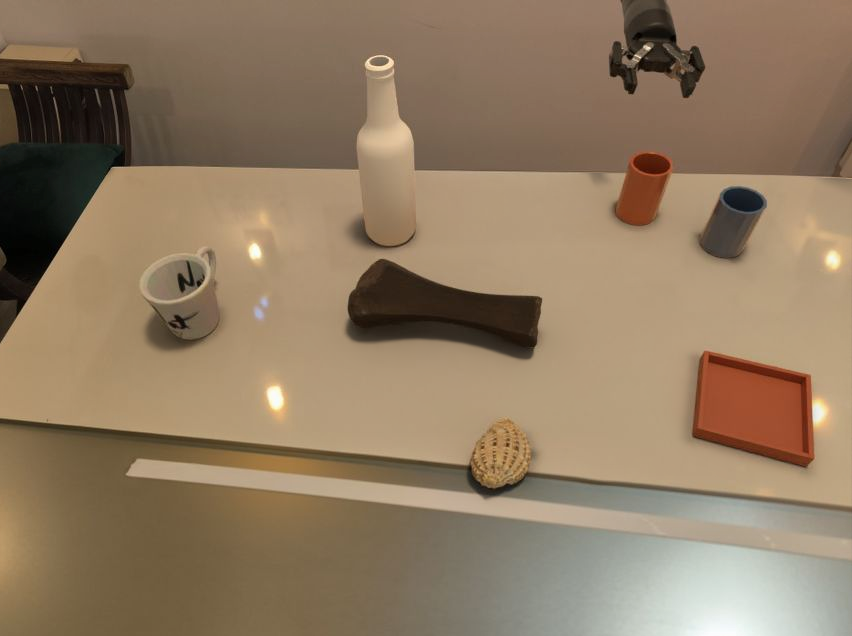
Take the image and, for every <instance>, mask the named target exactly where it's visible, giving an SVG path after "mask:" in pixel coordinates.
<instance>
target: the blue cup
mask: <svg viewBox="0 0 852 636" xmlns="http://www.w3.org/2000/svg"><path fill="white" fill-rule="evenodd" d="M767 206H768V201H767V199H766V198H765V195H763V194H762V193H760V192H759V191H758V190H756V189H753V188H750V187H747V186H741V185H735V186H729V187H726V188H724V189H722V191H720V192H719V194H718V196H717V199H716V201H715V204H714V205H713V208H712V210H711V212H710V215H709V216H708V219H707V221H706V223H705V225H704V227H703V229H702V231H701V234H700V237H699V245H700V247H701V248H702V249H703V250H704V251H705V252H707V253H708V254H710V255H711V256H714V257H717V258H720V259H721V258H723V259H732V258H736V257H738V256H740V255H741V254H742V253H743V251H744V249H745V248H746V246H747V244H748V242H749V240H750V239H751V236H752V235H753V233H754V231H755V229H756V227H757V225H758V223H759V222H760V220H761V218H762V217H763V215H764V212H765V211H766V209H767Z"/></svg>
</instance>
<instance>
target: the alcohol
mask: <svg viewBox="0 0 852 636" xmlns="http://www.w3.org/2000/svg"><path fill="white" fill-rule="evenodd" d="M394 66H395V61H394V59H392V57H389V56H387V55H382V54H381V55H380V54H379V55H374V56H371V57H369V58H368V59H367V60H366V61H365V62H364V68H365V72H364V74H365V77H366V120H365V122H364V124H363V125H362V126H361V128H360V129H359V131H358V133H357V138H356V145H355V147H356V156H357V157H356V158H357V166H358V174H359V183H360V193H361V200H362V201H361V202H362V210H363V219H364V220H363V221H364V227H365V233H366V235H367V236H368V238H370V239H371V240H372V241H373V242H374V243H376V244H377V245H379V246H384V247H395V246H400V245H402V244H404V243H406V242H407V241H408V240H410V239H411V238H412V236H413V235H414V234H415V232H416V229H417V213H416V210H417V209H416V207H417V206H416V174H415V171H416V170H415V142H414V138H413V134H412V131H411V129H410V128H409V126H408V125H407V124H406V122H404V121H403V120H402V119H401V117H400V114H399V107H398V100H397V90H396V84H395V77H394V75H395V68H394Z"/></svg>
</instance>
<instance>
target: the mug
mask: <svg viewBox="0 0 852 636" xmlns="http://www.w3.org/2000/svg"><path fill="white" fill-rule="evenodd" d="M206 254H207V257H208V261H207V260H206V259H205V258H203V257H204V256H205V255H206ZM216 271H217V256H216V252H215V250H213V248H211V246H209V245H204V246H201V247H200V248H199V249H197V251H196V252H195V253H188V252H180V253H179V252H178V253H173V254H170V255H166V256H163V257H161V258H159V259H157V260H156V261H154V262H153V263H150V265H149V266H148V267H147V268H146V269H145V270H144V271H143V273H142V275H141V277H140V279H139V284H138V285H139V286H138V288H139V292H140V294H141V297H143V299H144V300H145V301H146V303H148V305H149V307H151V308H152V309H153V311H154V312H155V313H156V314H157V315H158V317H159V318H160V319H161V320H162V322H163V323H165V325H166V327H168V328H169V330H170V331H171V333H173V334H174V335H175V337H177V338H180V339H182V340H190V341H191V340H198V339H201V338H204V337H206V336H207V335H209V334H210V333H212V332H213V331H214V330H215V329H216V327H217V326H218V325H219V321H220V309H219V305H218V298H217V294H216V288H215V277H216Z"/></svg>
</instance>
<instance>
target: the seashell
mask: <svg viewBox="0 0 852 636" xmlns="http://www.w3.org/2000/svg"><path fill="white" fill-rule="evenodd" d="M531 452H532V451H531V445H530V442H529V439H528V436H527V435H526V433H525V431H524V430H522V429H521V428H520V427H519V426H518V425H516V423H515V422H514V421H513V420H512V419H510V418H507V417H503V418H502V419H499V420H496V421H495V422H493V423H492V425H491V426H489V428H488V430H487V431H486V433H484V434H483V435H482V436H481V438H480V439H479V440H477V441H476V442H475V444H474V448H473V451H472V453H471V456H470V467H471V474H472V476H473V477H474V479H475V481H477V482H479V483H480V485H481V486H484V487H487V489H489V488H490V489H491V488H492V489H493V490H495V489H497V488H502V487H504V486H505V485H511V486H512V485H514V484H517V483H519V482H520V481H521V480H523V479H524V477H525V476H526V474H527V472H528V470H529V468H530V463H531V455H532V453H531Z"/></svg>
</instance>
